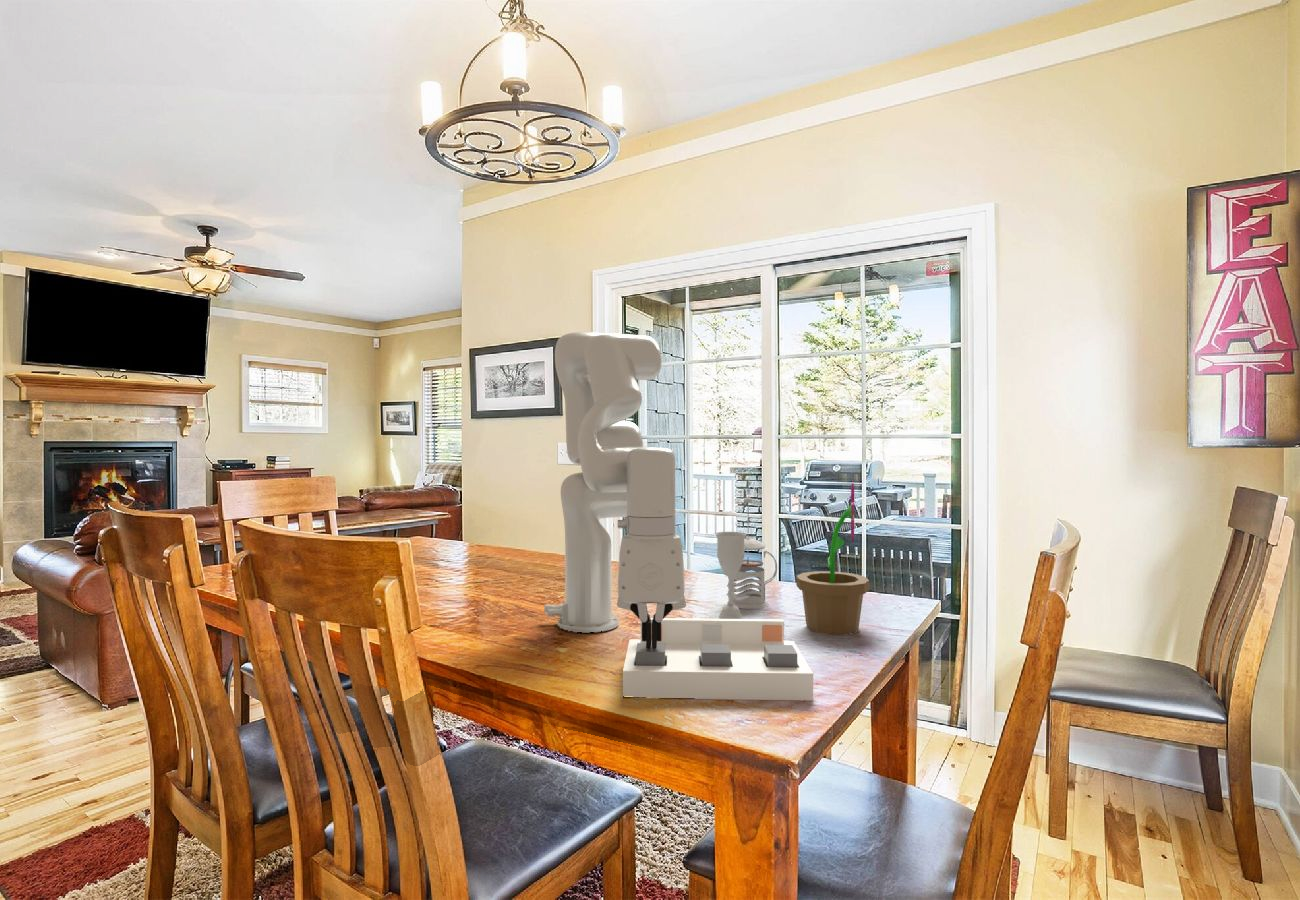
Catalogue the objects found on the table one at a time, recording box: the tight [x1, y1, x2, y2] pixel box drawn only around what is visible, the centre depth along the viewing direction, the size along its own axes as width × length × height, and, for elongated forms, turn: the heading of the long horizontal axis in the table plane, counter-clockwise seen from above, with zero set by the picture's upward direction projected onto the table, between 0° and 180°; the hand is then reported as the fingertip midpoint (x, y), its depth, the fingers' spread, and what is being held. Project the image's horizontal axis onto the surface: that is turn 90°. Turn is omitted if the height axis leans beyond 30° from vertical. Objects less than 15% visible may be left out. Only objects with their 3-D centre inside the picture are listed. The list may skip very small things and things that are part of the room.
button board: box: [622, 617, 814, 702], centre depth 107 cm, size 28×16×8 cm, turn 88°
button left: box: [636, 643, 665, 666], centre depth 104 cm, size 4×4×3 cm
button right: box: [764, 645, 797, 668], centre depth 103 cm, size 4×4×3 cm
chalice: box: [714, 531, 748, 619], centre depth 145 cm, size 7×7×18 cm
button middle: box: [701, 644, 731, 667], centre depth 104 cm, size 4×4×3 cm
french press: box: [726, 496, 778, 610], centre depth 157 cm, size 10×12×25 cm
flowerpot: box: [796, 481, 870, 636], centre depth 137 cm, size 14×14×30 cm
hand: (651, 645), depth 104 cm, fingers closed
